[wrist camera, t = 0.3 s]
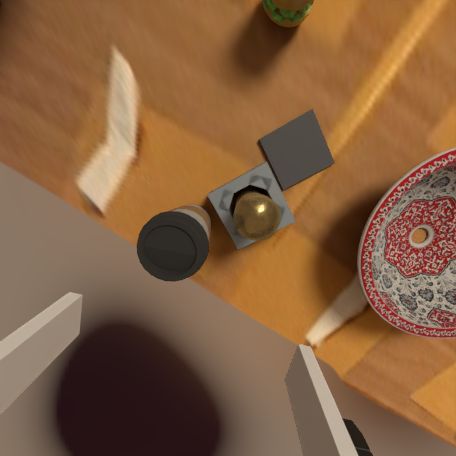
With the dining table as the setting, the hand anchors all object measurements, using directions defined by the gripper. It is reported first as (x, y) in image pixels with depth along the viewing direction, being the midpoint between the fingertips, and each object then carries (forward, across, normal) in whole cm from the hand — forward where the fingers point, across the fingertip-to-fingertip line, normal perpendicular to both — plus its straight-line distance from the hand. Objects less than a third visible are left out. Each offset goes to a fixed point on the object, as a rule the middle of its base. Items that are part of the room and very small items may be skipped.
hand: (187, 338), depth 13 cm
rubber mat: (+26, +9, +16) cm, 32 cm away
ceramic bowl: (+27, +34, +7) cm, 44 cm away
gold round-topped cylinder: (+27, +4, +6) cm, 28 cm away
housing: (+27, +4, +6) cm, 28 cm away
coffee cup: (+27, -5, 0) cm, 27 cm away
